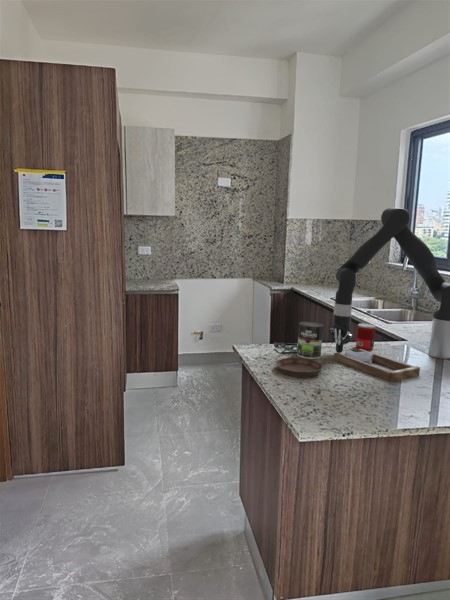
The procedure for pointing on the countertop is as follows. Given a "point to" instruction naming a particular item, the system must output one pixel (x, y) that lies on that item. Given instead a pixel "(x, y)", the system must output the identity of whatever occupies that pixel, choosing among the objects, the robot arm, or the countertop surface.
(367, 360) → the stone block
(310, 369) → the plant saucer
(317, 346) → the coffee can
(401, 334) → the countertop surface
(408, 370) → the wooden serving tray
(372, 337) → the canned food
